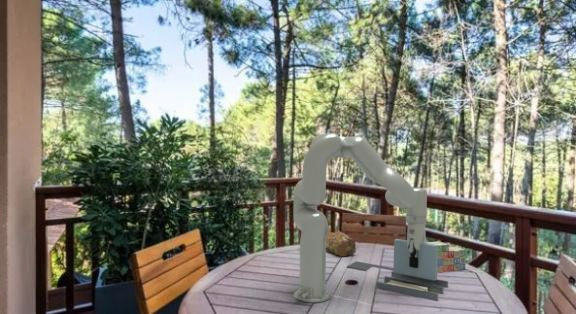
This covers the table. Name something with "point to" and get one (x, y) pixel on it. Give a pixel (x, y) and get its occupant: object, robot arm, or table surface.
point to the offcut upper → (408, 285)
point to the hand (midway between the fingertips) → (415, 265)
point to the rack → (413, 291)
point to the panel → (425, 260)
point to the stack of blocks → (449, 258)
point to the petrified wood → (340, 244)
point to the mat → (366, 266)
